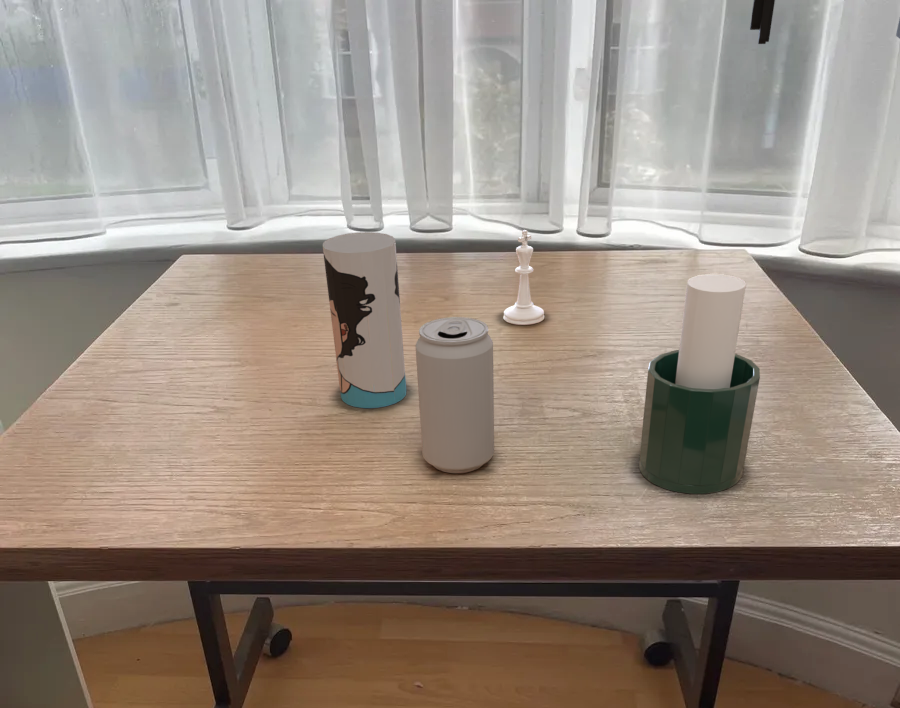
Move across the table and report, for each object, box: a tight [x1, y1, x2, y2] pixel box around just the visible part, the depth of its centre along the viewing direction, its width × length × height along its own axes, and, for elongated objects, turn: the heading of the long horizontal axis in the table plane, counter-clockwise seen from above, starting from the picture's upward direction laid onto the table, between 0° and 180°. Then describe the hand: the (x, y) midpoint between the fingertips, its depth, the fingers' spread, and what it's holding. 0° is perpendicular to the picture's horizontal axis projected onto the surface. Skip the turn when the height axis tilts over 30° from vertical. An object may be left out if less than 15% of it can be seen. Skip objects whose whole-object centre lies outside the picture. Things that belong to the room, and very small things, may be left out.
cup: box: [322, 231, 407, 409], centre depth 87 cm, size 7×7×15 cm
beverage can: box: [414, 316, 495, 474], centre depth 76 cm, size 6×6×12 cm
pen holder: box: [638, 349, 761, 495], centre depth 74 cm, size 9×9×9 cm
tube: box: [675, 273, 747, 389], centre depth 72 cm, size 4×4×15 cm
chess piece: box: [502, 229, 545, 326], centre depth 105 cm, size 5×5×10 cm
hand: (832, 40), depth 65 cm, fingers open, 9 cm apart
